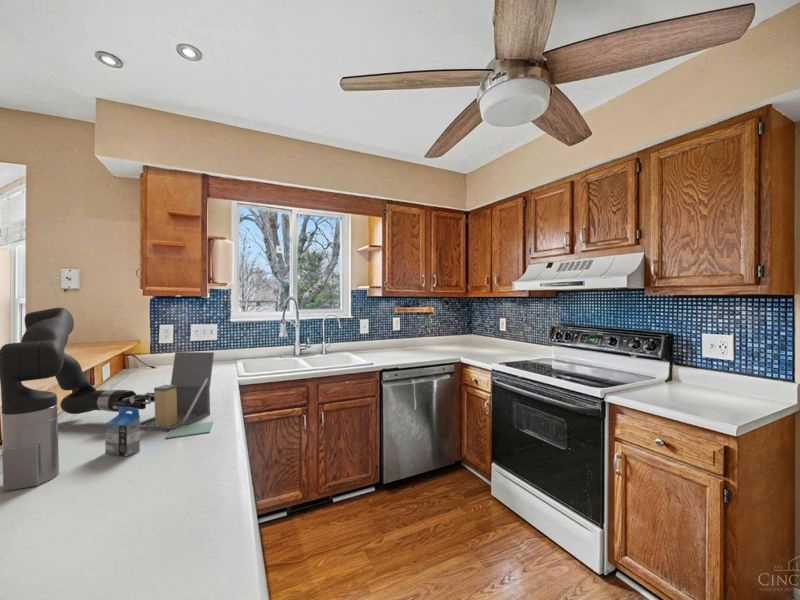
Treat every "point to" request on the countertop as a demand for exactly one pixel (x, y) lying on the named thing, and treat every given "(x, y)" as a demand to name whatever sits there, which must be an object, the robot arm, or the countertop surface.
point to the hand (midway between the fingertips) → (155, 402)
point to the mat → (191, 430)
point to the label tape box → (123, 432)
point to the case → (189, 387)
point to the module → (165, 405)
